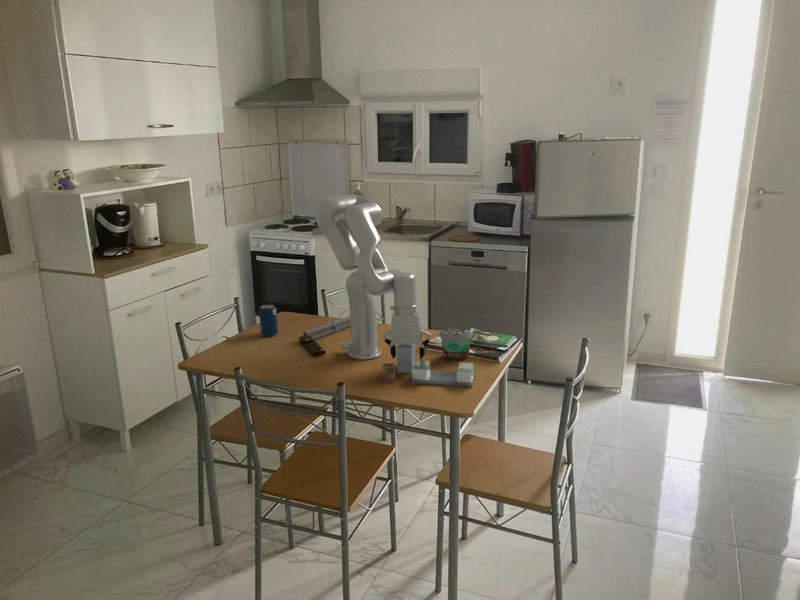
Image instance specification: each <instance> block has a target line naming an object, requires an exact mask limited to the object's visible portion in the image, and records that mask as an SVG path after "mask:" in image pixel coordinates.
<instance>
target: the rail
mask: <svg viewBox="0 0 800 600" xmlns="http://www.w3.org/2000/svg"><path fill="white" fill-rule="evenodd" d="M458 364H459V366H458V365H457V369H456V371H446V370H444V371H441V370H431V361H430V360H422V359H420V360H415V365H414V367H413V372H412V377H411V380H410V381H411V384H416V385H417V384H419V385H432V386H433V385H434V386H450V387H467V388H473V386H474V382H475V381H474V380H475V378H476V377H475V372H474V363H473V362H459V363H458Z"/></svg>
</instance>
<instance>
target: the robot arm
mask: <svg viewBox="0 0 800 600" xmlns="http://www.w3.org/2000/svg"><path fill="white" fill-rule="evenodd" d="M314 211H315V212H314V213H315V221H316V223H317V226H318V228H319V229H320V231H321V233H322V234H323V235H324V237H325V239H326V240H327V242H328V244H329V245H330V248H331V249H332V251H333V254H334V256H335V258H336V259H337V263H338V264H339V266H340V267H341V269H342V270H344V271H354V270H356V271H354V272H352V273H350V274H349V275H348V276H347V277H346V281H345V288H346V293H347V297H348V302H349V303H348V304H349V315H350V321H349V322H351V326H350V337H351V339H350V341H340V347H341V349H344V350H345V349H346V350H347V349H348V350H347V355H348V357H349V358H351V359H354V360H361V361H363V360H365V361H366V360H372V359H375V358H379V357H380V356H381V355H382V354H383V351H382V349H381V347H379V346H378V327H377V325H378V321H377V320H378V319H377V306H376V304H375V302H374V300H373V298H372V296H376V297H378V296H382V295H385V294H388V293H393V302H394V303H393V305H392V306H389V307H390V311H393V313H392V315H391V322H390V323H391V327H390V328H391V329H389V330H387V331H385V332H383V333H382V334H381V337H382V338H383V340H384V342H385V343H386V344H387V345H388V347H389V349H390V356H391V357H392V358H391V359H395V358H396V357H397V346H396V344H399V343H406V344H415V345H416V344H418V346H420V347H419V359H420V360H423V358H424V357H426V356H425V355H426V350H425V348H426V346H427V345H429V343H430V341H431V339H432V337H433V334H432V333H430V332H428V331H426V330H424V329H422V328H423V327H422V322H421V317H420V314H419V312H417V311H418V307H417V305H418V303H417V289H416V287H417V286H416V283H417V280H416V276H415V275H414V273H411V272H404V271H401V270H400V269H397V268H396V269H395V268H393V269H388V267H387V265H386V263H385V260H384V259H383V256H382V254H381V253H380V251H379V247H380V246H381V245H382V242H383V240H382V238H381V236H380V234H379V232H378V230H377V228H376V226H379V225H380V224H381V223H382V222H383V218H384V214H383V210H382V209H381V207H380V205H379V204H377V203H376V202H374V201H372V200H370V199H367V198H365V197H362V196H360V195H358V194H354V193H352V194H344V195H343V194H342V195H336V196H335V195H334V196H329V197H326V198H325V197H324V198H323V199H321V200H320V201H318V203H317V204H316V207H315V210H314ZM340 220H344V221H345V223H346V225H347V227H346V226H345V225H344V224H342V223H341V222H339V221H340ZM388 336H391V337H388ZM423 336H424V337H426V339H425V340H423V339H422V338H423Z"/></svg>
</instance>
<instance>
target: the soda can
mask: <svg viewBox="0 0 800 600" xmlns="http://www.w3.org/2000/svg"><path fill="white" fill-rule="evenodd" d="M277 312H278V311H277V308H276V307H275V304H263V305H260V308H259V310H258V313H259V314H258V315H259V316H258V317H259V324H260V325H259V327H260V333H261V335H262V336H263V335H264V336H263V337H265V336H272V337H274V336H273V335H275V336H277V335H276V334H278V333H279V326H278V325H279V324H278V313H277Z"/></svg>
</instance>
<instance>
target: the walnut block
mask: <svg viewBox="0 0 800 600" xmlns="http://www.w3.org/2000/svg"><path fill="white" fill-rule="evenodd" d="M382 382H383V383H393V382H394V383H396V365H395V363H382Z"/></svg>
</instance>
